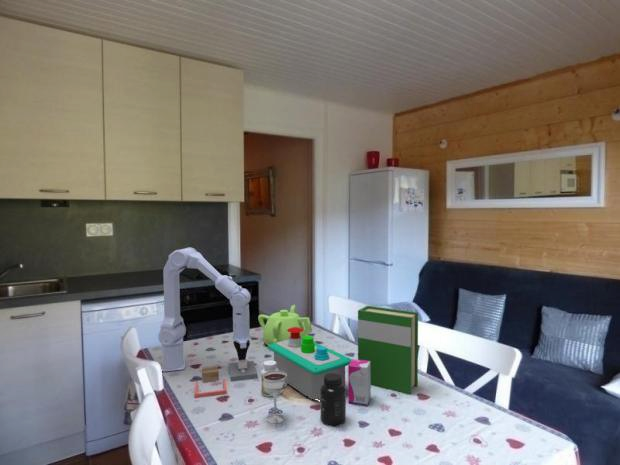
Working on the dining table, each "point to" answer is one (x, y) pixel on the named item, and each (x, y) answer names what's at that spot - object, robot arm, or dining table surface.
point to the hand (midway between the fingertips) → (241, 361)
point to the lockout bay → (211, 391)
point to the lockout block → (210, 374)
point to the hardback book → (389, 347)
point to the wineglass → (274, 390)
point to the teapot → (283, 325)
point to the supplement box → (359, 382)
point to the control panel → (307, 362)
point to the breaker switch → (242, 364)
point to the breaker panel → (242, 371)
